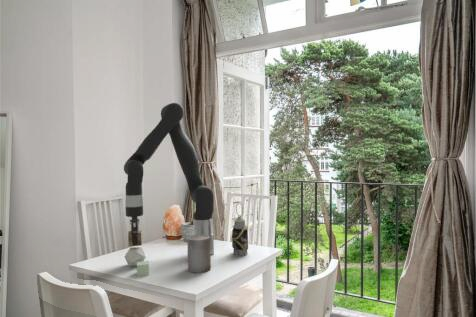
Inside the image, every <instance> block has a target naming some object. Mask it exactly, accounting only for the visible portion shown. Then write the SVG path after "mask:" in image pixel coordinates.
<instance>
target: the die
mask: <svg viewBox="0 0 476 317" xmlns="http://www.w3.org/2000/svg"><path fill="white" fill-rule="evenodd" d="M146 258H147V257H146V254H145V251H144V249H143V247H142V246H139V247H138V246H131V247H129V249H128V250H127V252H126V254H125V255H124V259H125V261H126V264H127V266H128V267H131V268H133V267H137V262H144V261H146Z"/></svg>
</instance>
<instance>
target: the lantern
mask: <svg viewBox="0 0 476 317" xmlns="http://www.w3.org/2000/svg"><path fill="white" fill-rule="evenodd" d="M238 204H240V206H241V209H242V210H244V207H243V205H242V203H241V202H237V203H236V206H235V212H236V214H237V216H238V217H237V218H236V219H234V220H233V221H234V224H233V226H232V231H231V242H232V244H231V246H232V249H233V251H232V252H233V255H235V256H246V255H247V254H248V250H249V236H248V235H249V234H248V233H249V232H248V231H249V227H248V225H247V224H246V220H245V219H244V218H243V217H242V216H243V213H244V211H242V214H241V215H239V214H238V211H237V208H238V207H237V206H238Z"/></svg>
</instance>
